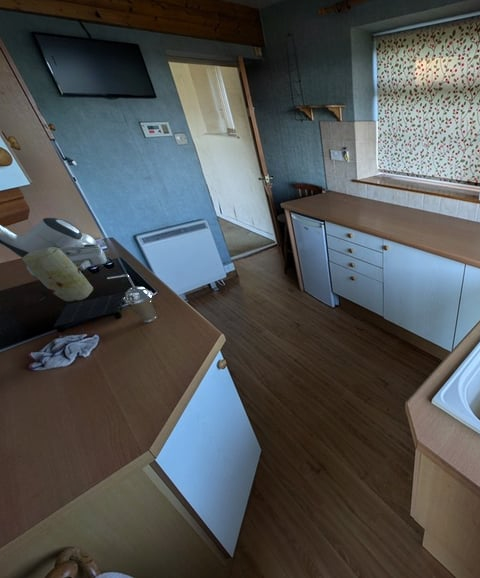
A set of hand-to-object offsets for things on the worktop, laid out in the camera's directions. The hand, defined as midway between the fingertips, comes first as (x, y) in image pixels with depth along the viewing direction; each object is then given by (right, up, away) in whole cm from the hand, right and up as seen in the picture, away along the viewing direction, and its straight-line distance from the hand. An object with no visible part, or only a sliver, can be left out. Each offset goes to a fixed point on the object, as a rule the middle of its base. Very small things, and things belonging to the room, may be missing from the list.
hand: (62, 271), depth 100 cm
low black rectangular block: (-1, -16, +12) cm, 20 cm away
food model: (0, -9, +6) cm, 11 cm away
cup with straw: (+22, -18, +10) cm, 30 cm away
